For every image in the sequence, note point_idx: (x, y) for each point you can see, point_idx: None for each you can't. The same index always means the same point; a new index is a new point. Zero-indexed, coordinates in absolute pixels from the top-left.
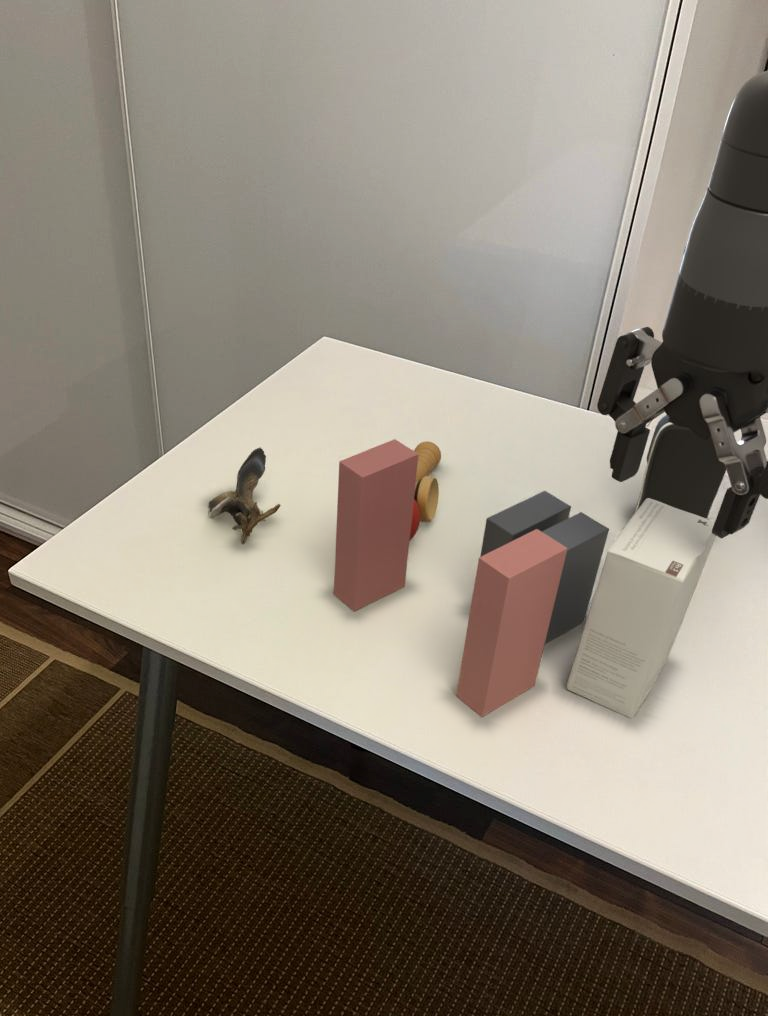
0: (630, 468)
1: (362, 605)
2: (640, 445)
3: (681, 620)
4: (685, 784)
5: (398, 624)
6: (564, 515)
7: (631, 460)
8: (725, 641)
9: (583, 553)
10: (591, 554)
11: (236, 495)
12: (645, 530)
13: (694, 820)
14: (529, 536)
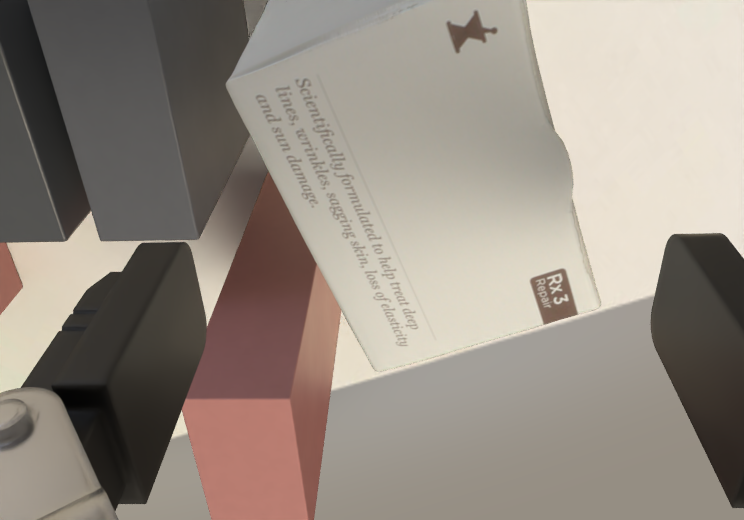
0: (184, 316)
1: (15, 275)
2: (145, 369)
3: None
4: (665, 130)
5: (82, 249)
6: (7, 19)
7: (175, 355)
8: None
9: (183, 85)
10: (181, 37)
11: None
12: (375, 241)
13: (714, 178)
14: (199, 429)
